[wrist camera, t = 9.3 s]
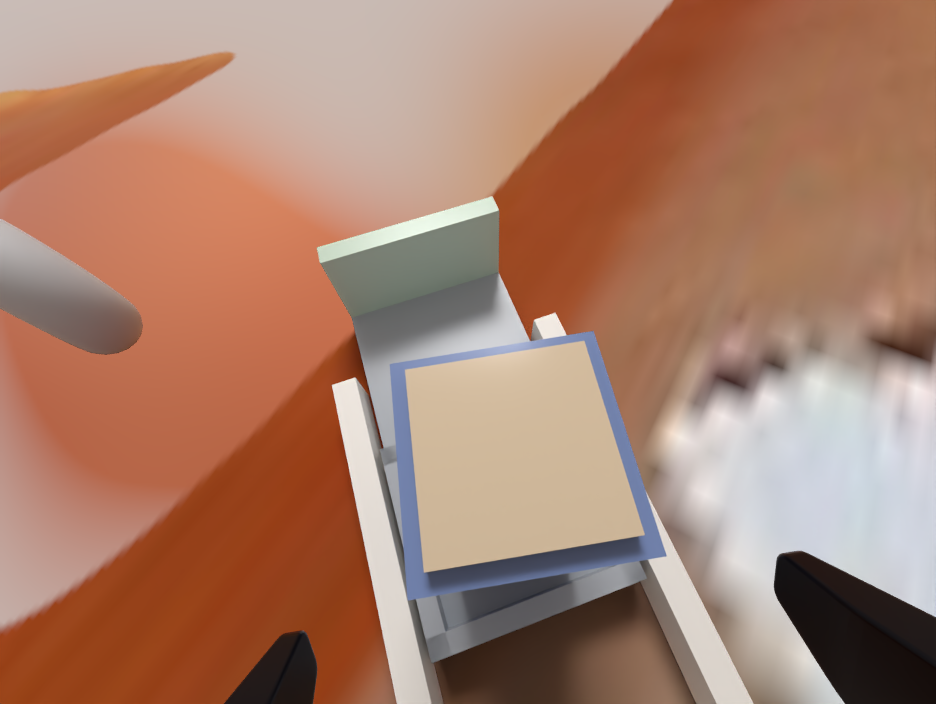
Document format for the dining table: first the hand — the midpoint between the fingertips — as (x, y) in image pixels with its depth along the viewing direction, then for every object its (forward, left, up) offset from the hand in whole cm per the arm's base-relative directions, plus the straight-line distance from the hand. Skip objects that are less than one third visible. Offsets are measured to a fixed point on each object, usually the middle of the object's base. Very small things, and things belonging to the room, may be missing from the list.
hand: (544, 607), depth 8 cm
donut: (+21, +19, -13) cm, 31 cm away
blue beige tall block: (+3, 0, -11) cm, 12 cm away
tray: (+7, 0, -12) cm, 14 cm away
